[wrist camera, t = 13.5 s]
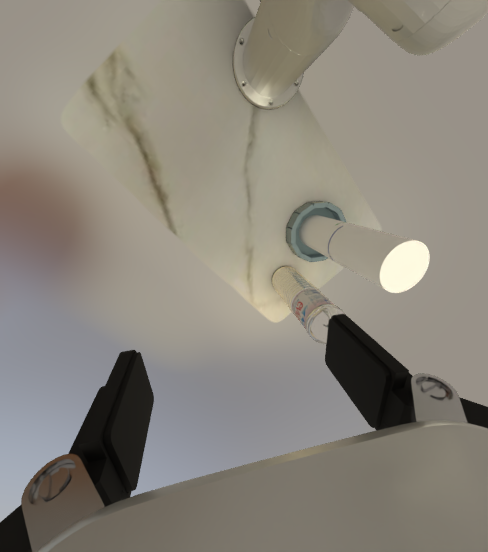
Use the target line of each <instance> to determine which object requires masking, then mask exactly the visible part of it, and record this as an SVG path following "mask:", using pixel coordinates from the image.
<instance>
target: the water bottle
mask: <svg viewBox="0 0 488 552" xmlns="http://www.w3.org/2000/svg"><path fill="white" fill-rule="evenodd" d="M272 284H273V287H274V288H275V290H276V291H277V292H278V294H279V295H280V296H281V298H282V299H283V301H284V302H285V303H286V305H287V306H288V307H289V309H290V310H291V311H292V313H293V314H294V315H295V316H296V317H297V318H298V320H299V321H300V322H301V324H302V325H303V326H304V328H305V329H306V331H307V333H308V334H309V336H310V337H311V338H312V339H313V340H315V341H316V342H318V343H323V344H327V333H328V322H329V319H331V317H332V316H333V315H338V314H345V313H344V312H343V311H342V310H341V309H340V308H339V307H338V306H336V305H334V304H333V303H332V302H331V301H330V300H329V299H328V298H327V297H325V296H324V295H323V294H322V293H321V292H320V291H319V290H318V289H317V288H316V287H315V286H314V285H313V284H311V283H310V282H309V281H308V280H307V279H306V278H305V277H303V276H302V275H301V274H300V273H299V272H298V271H297V270H295V269H294V268H292V267H288V266H285V267H281V268H279V269H278V270H276V271H275V273H274V274H273V277H272ZM345 315H346V314H345Z"/></svg>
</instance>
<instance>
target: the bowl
mask: <svg viewBox="0 0 488 552" xmlns="http://www.w3.org/2000/svg"><path fill="white" fill-rule="evenodd" d="M294 212H295V213H293V215H292V217H291V218H290V220H289V222H288V224H287V226H288V227H286V241H287V243H288V245H289V247H290V248H291V250H292V252H293V253H294V254H295V255H297V256H298V257H300V258H302V259H304V260H307V261H309V262H316V261H324V260H326V259H327V258H328V257H326V256H324V255H323V254H321V253H319V252H317V251H316V250H314V249H312V248H310V247H308V246H307V245H305V244H304V243H302V241H301V240H300V237H299V229H300V226H301V224H302V222H303V221H304V220H305V219H306V218H308V217H309V216H312V215H319V216H323V217H327V218H331V219H335V220H339V221H343V222H346V220H345V217H344V215H343V213H342V211H341V210H340V209H339V208H338V207H336V206H334V205H333V204H331V203H329V202H323V201H318V202H308V203H306V204H304V205H303V206H301V207H300V208H299V209H297V210H296V211H294Z"/></svg>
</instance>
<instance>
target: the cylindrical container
mask: <svg viewBox="0 0 488 552" xmlns="http://www.w3.org/2000/svg"><path fill="white" fill-rule="evenodd" d="M299 237H300V240H301V241H302V243H304V244H305V245H307V246H308V247H310V248H312V249H314V250H316V251H317V252H319V253H321V254H323V255H324V256H326V257H328V258H330V259H332V260H333V261H335V262H337V263H339V264H340V265H342V266H344V267H346V268H348V269H349V270H351V271H353V272H355V273H356V274H358V275H360V276H362V277H364V278H365V279H367V280H369V281H371V282H373V283H374V284H376V285H378V286H380V287H381V288H383V289H385V290H387V291H389V292H393V293H400V292H403V291H406V290H408V289H410V288H411V287H413V286H414V285H415V284H417V283H418V282H419V281H420V279H421V278H422V277H423V275H424V274H425V272H426V270H427V268H428V265H429V251H428V248H427V247H426V246H425V244H423V243H422V242H420V241H416V240H412V239H408V238H404V237H400V236H397V235H393V234H389V233H385V232H381V231H378V230H374V229H370V228H366V227H362V226H358V225H355V224H351V223H347V222H343V221H339V220H335V219H331V218H327V217H323V216H319V215H312V216H309V217H308V218H306V219H305V220H304V221H303V222H302V224H301V226H300V229H299Z"/></svg>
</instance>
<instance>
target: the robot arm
mask: <svg viewBox="0 0 488 552" xmlns="http://www.w3.org/2000/svg"><path fill="white" fill-rule="evenodd" d="M260 2H261V3H260V6H259V9H258V12H257V15H256V17H254V18H253V19H251V20H250V21H249V22H248V23H247V24H246V25H245V26H244V27H243V29H242V30H241V32H240V34H239V36H238V39H237V42H236V45H235V49H234V55H233V69H234V75H235V79H236V82H237V84H238V87H239V89H240V90H241V92H242V94H243V95H244V96H245V97H246V99H247V100H248V101H249V102H251V103H252V104H253V105H255V106H257V107H259V108H263V109H275V108H279V107H281V106H283V105H284V104H286V103H287V102H288V101H289V100H290V99H291V98H292V97H293V96H294V95H295V93H296V92H297V90H298V88H299V87H300V84H301V81H302V78H303V74H304V71H305V70H306V69H307V68H308V67H309V66H310V65H311V64H312V63H313V62H314V61H315V60H316V59H317V58H318V57H319V56H320V55H321V54H322V53H323V52H324V50H325V49H327V47H328V46H329V45H330V44H331V43H332V42H333V41H334V40H335V39H336V38H337V36H338V35H339V34H340V32H341V31H342V30H343V28H344V27H345V25H346V23H347V21H348V19H349V17H350V15H351V12H352V10H353V8H354V7H356V8H357V9H358V10H359V11H361V12H362V13H364V14H365V15H366V16H367V17H368V18H369V19H370V20H371V21H372V22H373V23H374V24H376V26H377V27H378V28H380V29H381V30H382V31H383V32H384V33H385V34H386V35H387V36H388V37H389V38H390V39H391V40H392V41H394V42H395V43H396V44H397V45H398V46H400V47H401V48H402V49H404V50H405V51H406V52H408V53H411V54H414V55H426V54H430V53H433V52H435V51H438V50H440V49H441V48H443V47H445V46H447V45H448V44H450V43H451V42H453V41H454V40H456V39H457V38H458V37H459V36H461V35H462V34H463V33H465V32H466V31H467V30H469V29H470V28H471V27H472V26H473V25H475V24H476V23H477V22H478V21H479V20H481V19H482V18H483V17H484V16H485V15H486V14H488V0H260ZM240 43H242V45H240ZM242 84H244V87H243V86H242ZM294 84H295V85H296V86H295V85H294ZM269 103H271V105H269ZM325 362H326V365H327V366H328V368H329V369H330V371H331V372H332V374H333V375H334V376H335V378H336V379H337V380H338V382H339V383H340V385H341V386H342V387H343V389H344V390H345V392H346V393H347V394H348V396H349V397H350V399H351V400H352V401H353V403H354V404H355V406H356V407H357V408H358V410H359V411H360V413H361V414H362V415H363V417H364V418H365V420H366V421H367V422H368V424H369V425H370V426H371V427H373V428H375V429H376V430H377V431H373V432H369V433H366V434H361V435H358V436H353V437H349V438H345V439H342V440H338V441H334V442H330V443H326V444H322V445H318V446H314V447H311V448H307V449H303V450H299V451H296V452H292V453H288V454H284V455H281V456H277V457H273V458H269V459H265V460H261V461H257V462H254V463H250V464H247V465H243V466H239V467H235V468H231V469H228V470H224V471H220V472H216V473H213V474H209V475H206V476H202V477H198V478H194V479H190V480H187V481H183V482H180V483H176V484H173V485H169V486H166V487H162V488H159V489H155V490H152V491H149V492H145V493H142V494H138V495H136V496H133V497H130V495H131V491H133V490H135V489H136V487H137V483H138V477H139V473H140V468H141V463H142V457H143V452H144V447H145V443H146V437H147V432H148V427H149V422H150V416H151V412H152V407H153V402H154V396H153V392H152V389H151V385H150V382H149V379H148V376H147V372H146V369H145V366H144V362H143V359H142V356H141V353H140V352H138V353H137V352H136V351H135V350H130V351H125V352H121V353H120V354H119V357H118V359H117V361H116V363H115V366H114V368H113V370H112V372H111V374H110V376H109V379H108V381H107V384H106V385H105V386H103V387H101V388H100V389H99V391H98V393H97V395H96V397H95V399H94V401H93V403H92V405H91V408H90V410H89V412H88V414H87V416H86V418H85V420H84V422H83V425H82V426H81V429H80V431H79V433H78V435H77V437H76V439H75V441H74V443H73V446H72V447H71V450H70V452H69V454H66V455H62V456H60V457H57V458H55V459H54V460H52V461H50V462H49V463H47V464H46V465H45V466H44V467H42V468H41V469H40V470H39V471H38V472H37V473H36V474H35V475H34V477H33V478H32V479H31V480H30V482H29V483H28V485H27V487H26V488H25V490H24V493H23V495H22V501H21V505H20V506H19V507H18V508H17V509H15V511H13V512H12V513H11V514H10V515H8V516H7V517H6V518H5V519H4V520H3V521H2V522H0V552H488V407H486V406H483V405H480V404H477V403H474V402H471V401H468V400H466V399H463V398H460V397H459V395H458V393H457V392H456V390H455V389H454V388H453V387H452V386H451V385H450V384H448V383H447V382H446V381H444V380H442V379H440V378H438V377H436V376H433V375H430V374H424V373H422V374H416V375H414V376H412V375H411V374H410V373H409V370H408V369H406V368H405V367H404V366H403V365H402V364H401V363H399V361H397V360H396V359H395V358H394V357H393V356H392V355H391V354H389V353H388V352H387V351H386V350H385V349H384V348H383V347H381V346H380V345H379V344H378V343H377V342H376V341H375V340H374V339H372V338H371V337H370V336H369V335H368V334H367V333H365V332H364V331H363V330H362V329H361V328H360V327H359V326H358V325H357V324H355V323H354V322H353V321H352V320H351V319H350V318H348V317H347V316H346V315H345V314H338V315H333V316H332V317H331V319H329V322H328V333H327V344H326V355H325Z"/></svg>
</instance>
